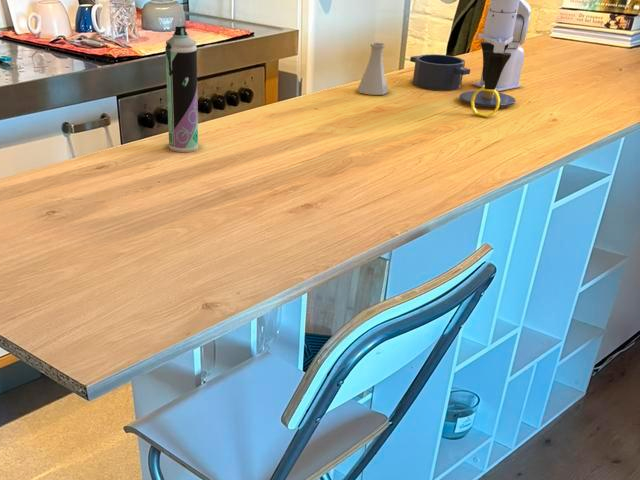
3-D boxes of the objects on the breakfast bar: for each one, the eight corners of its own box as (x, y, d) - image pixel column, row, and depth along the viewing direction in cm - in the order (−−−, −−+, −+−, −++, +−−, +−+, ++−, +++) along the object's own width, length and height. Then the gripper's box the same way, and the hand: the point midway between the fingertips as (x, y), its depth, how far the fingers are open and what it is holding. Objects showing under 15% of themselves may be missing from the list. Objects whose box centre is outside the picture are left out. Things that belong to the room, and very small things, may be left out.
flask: (386, 97, 187) (392, 48, 181) (355, 94, 188) (360, 45, 182) (389, 89, 193) (394, 42, 186) (358, 87, 194) (363, 39, 187)
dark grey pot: (426, 75, 206) (430, 50, 202) (479, 89, 196) (483, 63, 192) (394, 80, 200) (397, 55, 197) (447, 95, 190) (451, 69, 187)
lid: (480, 93, 193) (484, 71, 190) (525, 104, 186) (530, 82, 183) (447, 100, 186) (451, 78, 183) (492, 113, 179) (497, 90, 176)
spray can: (187, 154, 150) (184, 30, 137) (163, 148, 152) (158, 26, 139) (203, 147, 154) (202, 25, 141) (180, 141, 156) (177, 21, 143)
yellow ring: (467, 115, 177) (472, 85, 173) (471, 112, 179) (476, 82, 175) (494, 119, 175) (500, 89, 171) (497, 116, 177) (504, 86, 173)
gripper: (481, 4, 170) (468, 75, 179) (484, 15, 159) (470, 91, 168) (515, 6, 169) (501, 78, 178) (521, 17, 158) (505, 93, 167)
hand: (488, 84), depth 173 cm, fingers open, 7 cm apart
